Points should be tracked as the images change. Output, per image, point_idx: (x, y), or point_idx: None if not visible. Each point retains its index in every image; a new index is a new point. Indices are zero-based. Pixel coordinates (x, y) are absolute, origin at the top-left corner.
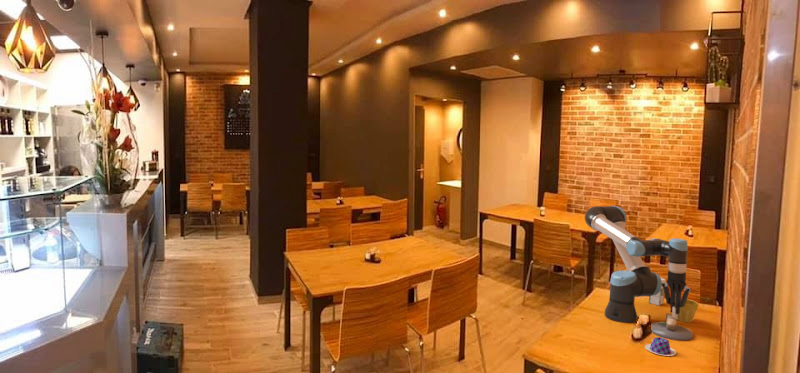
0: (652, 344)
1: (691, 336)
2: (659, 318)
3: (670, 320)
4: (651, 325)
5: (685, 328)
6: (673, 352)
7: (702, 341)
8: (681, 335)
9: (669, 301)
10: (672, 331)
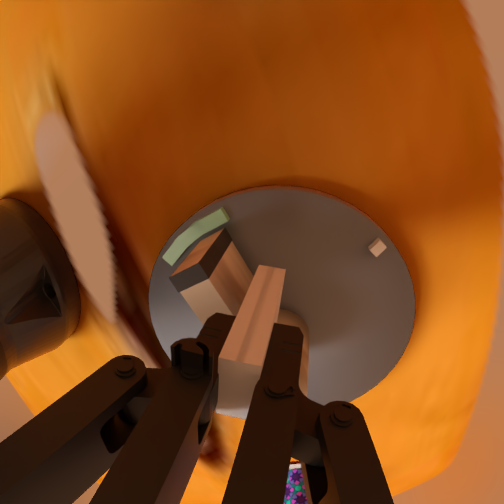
0: None
1: (407, 340)
2: (114, 81)
3: None
4: (166, 338)
5: (353, 222)
6: None
7: (457, 312)
8: (356, 374)
9: (133, 415)
10: None
